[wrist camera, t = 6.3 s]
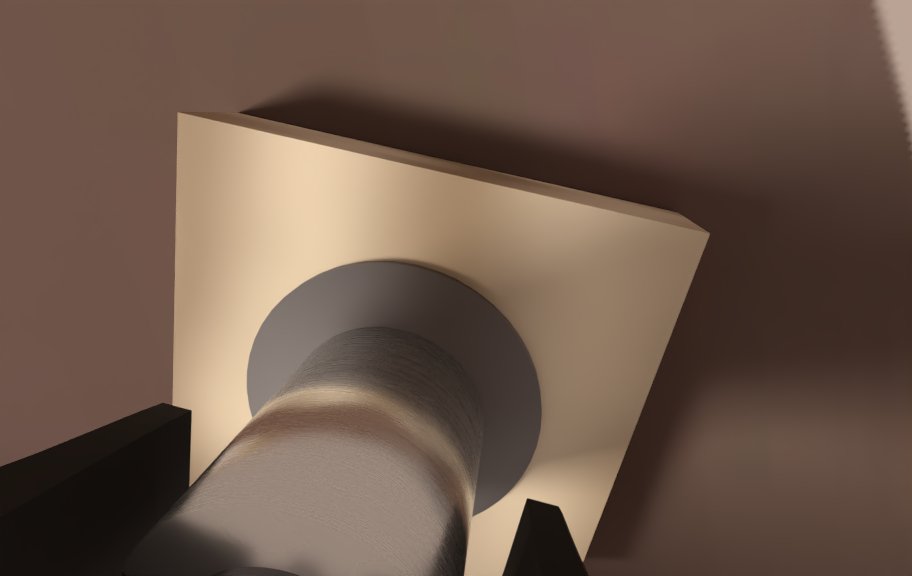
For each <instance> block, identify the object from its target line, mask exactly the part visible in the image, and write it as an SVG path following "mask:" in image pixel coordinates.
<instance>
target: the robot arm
mask: <svg viewBox="0 0 912 576" xmlns="http://www.w3.org/2000/svg"><path fill="white" fill-rule="evenodd" d="M191 422H192V410H188V409H184V408H181V407H177V406H173V405H169V404H165V403H162V404H159V405H156V406H153V407H150V408H148V409H145V410H142V411H140V412H137V413H135V414H132V415H130V416H127V417H125V418H122V419H120V420H118V421H115V422H113V423H110V424H108V425H105V426H103V427H100V428H98V429H96V430H93V431H91V432H88V433H86V434H83V435H81V436H78V437H76V438H73V439H71V440H68V441H66V442H64V443H61V444H59V445H56V446H54V447H51V448H49V449H46V450H44V451H41V452H39V453H36V454H34V455H31V456H28V457H26V458H23V459H20V460H17V461H15V462H12V463H9V464H7V465H4V466H1V467H0V576H121V574H122V571H123V568H124V565H125V563H126V561H127V560H128V558H129V556H130V554H131V552H132V551H133V550H134V549H135V547H136V546H137V545H138V544H139V543H140V542H141V540H142V539H143V538H144V537H145V536H146V535H147V534H148V533H149V531H150V530H151V529H152V528H153V527H154V526H155V525H156V524H157V523H158V522H159V520H160V519H161V518H162V517H163V516H164V515H165V514H166V513H167V512H168V511H169V509H170V508H171V507H172V506H173V505H174V504H175V503H176V502H177V501H178V499H179V498H180V497H181V496H182V495H183V494H184V493H185V492H186V491H187V490H188V488H189V483H190V452H191ZM502 576H589V575H588V573H587V571H586V569H585V566H584V564H583V562H582V560H581V557H580V555H579V553H578V550H577V548H576V545H575V543H574V541H573V538H572V536H571V533H570V531H569V528H568V526H567V523H566V521H565V518H564V516H563V513H562V511H561V510H560V508H559V506H556V505H552V504H548V503H544V502H540V501H536V500H533V499H529V498H527V500H526V503H525V506H524V509H523V512H522V515H521V518H520V522H519V525H518V528H517V531H516V534H515V537H514V540H513V544H512V547H511V550H510V553H509V556H508V559H507V562H506V565H505V569H504V572H503V575H502Z"/></svg>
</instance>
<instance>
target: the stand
mask: <svg viewBox="0 0 912 576" xmlns="http://www.w3.org/2000/svg"><path fill="white" fill-rule="evenodd" d="M709 235H710V233H709V232H707V231H706V230H704V229H702V228H701V227H699V226H698V225H696V224H695V223H693V222H692V221H690V220H688V219H687V218H685V217H684V216H682V215H681V214H679V213H678V212H673V211H669V210H665V209H660V208H656V207H651V206H647V205H643V204H638V203H634V202H629V201H625V200H620V199H616V198H612V197H607V196H603V195H598V194H594V193H590V192H585V191H581V190H576V189H572V188H567V187H563V186H559V185H554V184H550V183H545V182H541V181H537V180H532V179H528V178H523V177H519V176H514V175H510V174H506V173H501V172H497V171H492V170H488V169H484V168H479V167H475V166H470V165H466V164H461V163H457V162H453V161H448V160H444V159H439V158H435V157H431V156H426V155H422V154H417V153H413V152H408V151H404V150H400V149H395V148H391V147H386V146H382V145H378V144H373V143H369V142H364V141H360V140H355V139H351V138H347V137H342V136H338V135H333V134H329V133H325V132H320V131H316V130H311V129H307V128H302V127H298V126H294V125H289V124H285V123H280V122H276V121H272V120H267V119H263V118H258V117H254V116H249V115H245V114H241V113H216V112H178V135H177V191H176V247H175V303H174V360H173V406H177V407H181V408H184V409H188V410H192V422H191V452H190V483H189V487H190V486H191V485H192V484H193V483H194V482H195V481H196V480H197V479H198V477H199V476H200V475H201V474H202V473H203V472H204V471H205V470H206V469H207V468H208V466H209V465H210V464H211V463H212V462H213V461H214V460H215V459H216V458H217V456H218V455H219V454H220V453H221V452H222V451H223V450H224V449H225V448H226V447H227V445H228V444H229V443H230V442H231V441H232V440H233V439H234V438H235V437H236V436H237V434H238V433H239V432H240V431H241V430H242V429H243V428H244V427H245V426H246V424H247V423H248V422H249V421H250V420H251V419H252V418H253V417H254V416H255V415H256V413H257V412H258V411H259V410H260V409H261V408H262V407H263V406H264V405H265V404H266V402H267V401H268V400H269V399H270V398H271V397H272V396H273V395H274V394H275V392H276V391H277V390H278V389H279V388H280V387H281V386H282V385H283V384H284V383H285V381H286V380H287V379H288V378H289V377H290V376H291V375H292V374H293V373H294V372H295V370H296V369H297V368H298V367H299V366H300V365H301V364H302V363H303V362H304V361H305V359H306V358H307V357H308V356H309V355H310V354H311V353H312V352H313V351H314V350H315V349H316V348H317V347H318V346H320V345H321V344H322V343H324V342H325V341H327V340H328V339H330V338H332V337H334V336H336V335H338V334H340V333H343V332H346V331H350V330H353V329H358V328H365V327H387V328H395V329H399V330H404V331H408V332H411V333H413V334H416V335H419V336H421V337H423V338H425V339H427V340H429V341H431V342H433V343H435V344H436V345H438V346H439V347H441V348H442V349H444V350H445V351H446V352H447V353H449V354H450V355H451V356H452V357H453V358H455V360H456V361H457V362H458V363H459V364H460V365H461V366H462V367H463V368H464V370H465V371H466V372H467V374H468V375H469V377H470V378H471V380H472V382H473V383H474V385H475V387H476V389H477V392H478V394H479V397H480V400H481V403H482V408H483V413H484V433H483V441H482V449H481V456H480V463H479V470H478V478H477V485H476V492H475V499H474V507H473V514H472V521H471V528H470V536H469V543H468V550H467V557H466V565H465V572H464V576H502V575H503V572H504V569H505V565H506V562H507V559H508V556H509V553H510V550H511V547H512V544H513V540H514V537H515V534H516V531H517V528H518V525H519V522H520V518H521V515H522V512H523V509H524V506H525V503H526V500H527V498H529V499H533V500H536V501H540V502H544V503H548V504H552V505H556V506H559V508H560V510H561V511H562V513H563V516H564V518H565V521H566V523H567V526H568V528H569V531H570V533H571V536H572V538H573V541H574V543H575V545H576V548H577V550H578V553H579V555H580V557H581V560H582V562H583V561H584V559H585V556H586V553H587V551H588V548H589V546H590V543H591V540H592V538H593V535H594V533H595V530H596V527H597V525H598V522H599V520H600V517H601V515H602V512H603V509H604V507H605V504H606V502H607V499H608V496H609V494H610V491H611V489H612V486H613V484H614V481H615V478H616V476H617V473H618V471H619V468H620V465H621V463H622V460H623V458H624V455H625V452H626V450H627V447H628V445H629V442H630V440H631V437H632V434H633V432H634V429H635V427H636V424H637V421H638V419H639V416H640V414H641V411H642V409H643V406H644V403H645V401H646V398H647V396H648V393H649V390H650V388H651V385H652V383H653V380H654V377H655V375H656V372H657V370H658V367H659V365H660V362H661V359H662V357H663V354H664V352H665V349H666V346H667V344H668V341H669V339H670V336H671V334H672V331H673V328H674V326H675V323H676V321H677V318H678V315H679V313H680V310H681V308H682V305H683V302H684V300H685V297H686V295H687V292H688V290H689V287H690V284H691V282H692V279H693V277H694V274H695V271H696V269H697V266H698V264H699V261H700V259H701V256H702V253H703V251H704V248H705V246H706V243H707V240H708V238H709Z"/></svg>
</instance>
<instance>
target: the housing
mask: <svg viewBox="0 0 912 576" xmlns="http://www.w3.org/2000/svg"><path fill="white" fill-rule="evenodd" d="M483 433H484V413H483V408H482V403H481V400H480V397H479V394H478V392H477V389H476V387H475V385H474V383H473V382H472V380H471V378H470V377H469V375H468V374H467V372H466V371H465V370H464V368H463V367H462V366H461V365H460V364H459V363H458V362H457V361H456V360H455V358H453V357H452V356H451V355H450V354H449V353H447V352H446V351H445V350H444V349H442V348H441V347H439V346H438V345H436V344H435V343H433V342H431V341H429V340H427V339H425V338H423V337H421V336H419V335H416V334H413V333H411V332H408V331H404V330H399V329H395V328H387V327H365V328H358V329H353V330H350V331H346V332H343V333H340V334H338V335H336V336H334V337H332V338H330V339H328V340H327V341H325V342H324V343H322V344H321V345H320V346H318V347H317V348H316V349H315V350H314V351H313V352H312V353H311V354H310V355H309V356H308V357H307V358H306V359H305V361H304V362H303V363H302V364H301V365H300V366H299V367H298V368H297V369H296V370H295V372H294V373H293V374H292V375H291V376H290V377H289V378H288V379H287V380H286V381H285V383H284V384H283V385H282V386H281V387H280V388H279V389H278V390H277V391H276V392H275V394H274V395H273V396H272V397H271V398H270V399H269V400H268V401H267V402H266V404H265V405H264V406H263V407H262V408H261V409H260V410H259V411H258V412H257V413H256V415H255V416H254V417H253V418H252V419H251V420H250V421H249V422H248V423H247V424H246V426H245V427H244V428H243V429H242V430H241V431H240V432H239V433H238V434H237V436H236V437H235V438H234V439H233V440H232V441H231V442H230V443H229V444H228V445H227V447H226V448H225V449H224V450H223V451H222V452H221V453H220V454H219V455H218V456H217V458H216V459H215V460H214V461H213V462H212V463H211V464H210V465H209V466H208V468H207V469H206V470H205V471H204V472H203V473H202V474H201V475H200V476H199V477H198V479H197V480H196V481H195V482H194V483H193V484H192V485H191V486H190V487H189V488H188V490H187V491H186V492H185V493H184V494H183V495H182V496H181V497H180V498H179V499H178V501H177V502H176V503H175V504H174V505H173V506H172V507H171V508H170V509H169V511H168V512H167V513H166V514H165V515H164V516H163V517H162V518H161V519H160V520H159V522H158V523H157V524H156V525H155V526H154V527H153V528H152V529H151V530H150V531H149V533H148V534H147V535H146V536H145V537H144V538H143V539H142V540H141V542H140V543H139V544H138V545H137V546H136V547H135V549H134V550H133V551H132V552H131V554H130V556H129V558H128V560H127V561H126V563H125V565H124V568H123V571H122V574H121V576H464V572H465V565H466V557H467V550H468V543H469V536H470V528H471V521H472V514H473V507H474V499H475V492H476V485H477V478H478V470H479V463H480V456H481V449H482V441H483Z"/></svg>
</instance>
